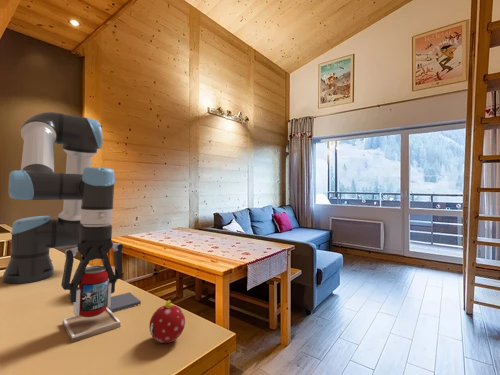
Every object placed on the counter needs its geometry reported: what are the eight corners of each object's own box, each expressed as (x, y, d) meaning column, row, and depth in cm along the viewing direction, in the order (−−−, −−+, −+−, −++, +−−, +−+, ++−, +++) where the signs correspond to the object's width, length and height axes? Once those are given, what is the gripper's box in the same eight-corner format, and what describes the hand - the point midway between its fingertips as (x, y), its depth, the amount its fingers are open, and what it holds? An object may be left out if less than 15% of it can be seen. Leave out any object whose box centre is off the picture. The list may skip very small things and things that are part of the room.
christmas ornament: (190, 341, 66) (192, 302, 66) (158, 355, 60) (160, 312, 60) (173, 327, 72) (175, 291, 72) (142, 338, 66) (144, 299, 66)
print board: (62, 324, 71) (62, 318, 71) (106, 311, 78) (107, 306, 78) (72, 342, 63) (72, 336, 63) (120, 326, 71) (120, 321, 71)
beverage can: (85, 322, 66) (87, 274, 66) (72, 313, 70) (74, 269, 69) (111, 311, 72) (113, 268, 72) (98, 304, 75) (100, 263, 75)
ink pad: (100, 302, 84) (101, 299, 84) (129, 295, 90) (129, 292, 90) (110, 312, 78) (110, 309, 78) (140, 304, 84) (140, 301, 84)
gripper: (54, 229, 61) (49, 327, 61) (138, 224, 75) (134, 303, 75) (48, 225, 66) (44, 315, 66) (128, 220, 80) (124, 295, 80)
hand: (92, 309), depth 71 cm, fingers closed on beverage can, 7 cm apart
